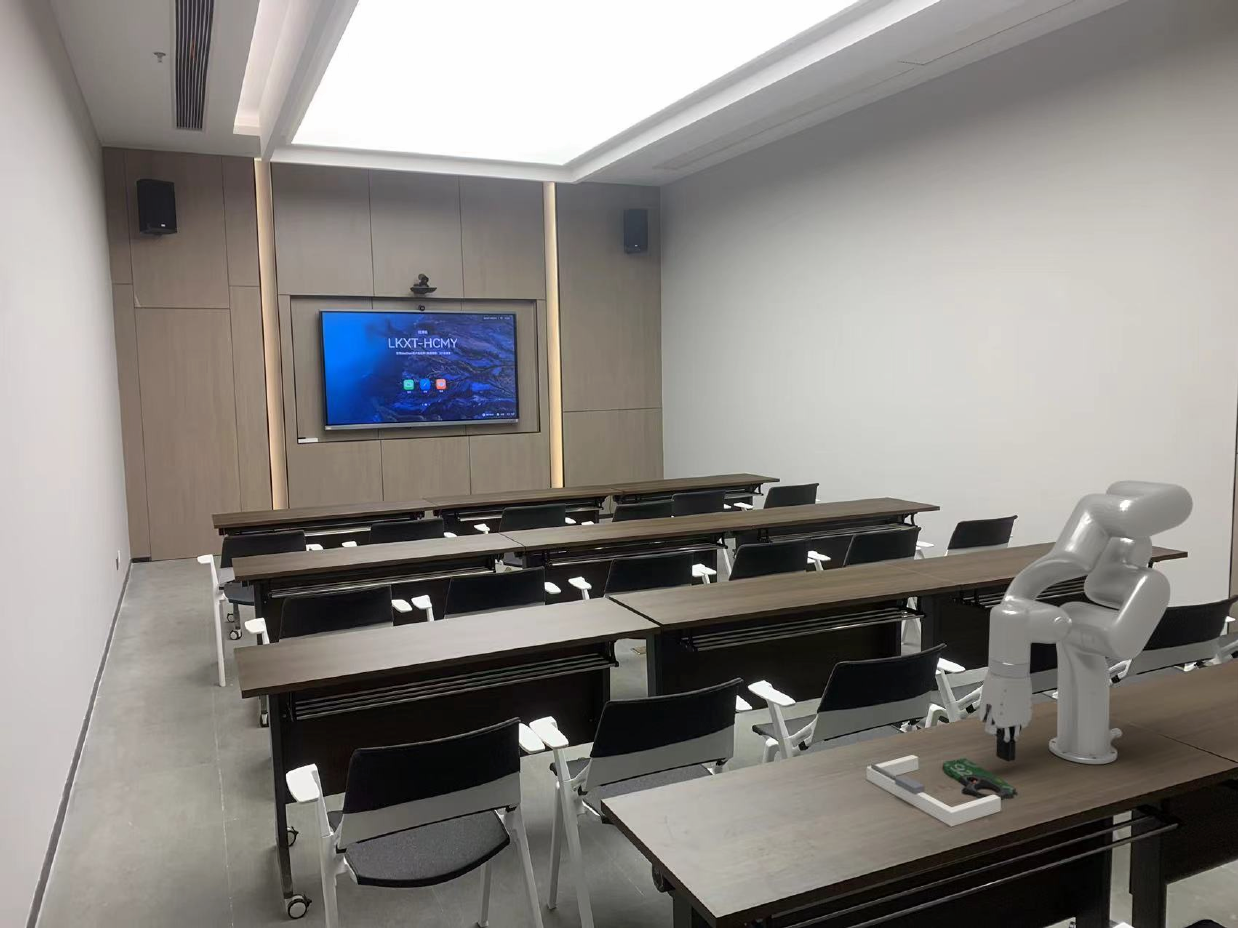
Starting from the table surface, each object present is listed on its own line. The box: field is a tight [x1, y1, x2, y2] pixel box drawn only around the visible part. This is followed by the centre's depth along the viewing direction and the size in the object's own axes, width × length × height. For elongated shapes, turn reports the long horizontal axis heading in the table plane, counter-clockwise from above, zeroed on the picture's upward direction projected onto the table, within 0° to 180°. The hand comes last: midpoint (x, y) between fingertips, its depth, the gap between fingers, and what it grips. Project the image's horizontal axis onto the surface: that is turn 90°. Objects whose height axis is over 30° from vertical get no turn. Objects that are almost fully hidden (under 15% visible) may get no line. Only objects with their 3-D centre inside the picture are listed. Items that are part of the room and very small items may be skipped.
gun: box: [942, 758, 1018, 801], centre depth 174 cm, size 16×1×10 cm
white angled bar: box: [866, 754, 1002, 827], centre depth 169 cm, size 12×22×4 cm, turn 25°
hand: (1005, 758), depth 177 cm, fingers closed
